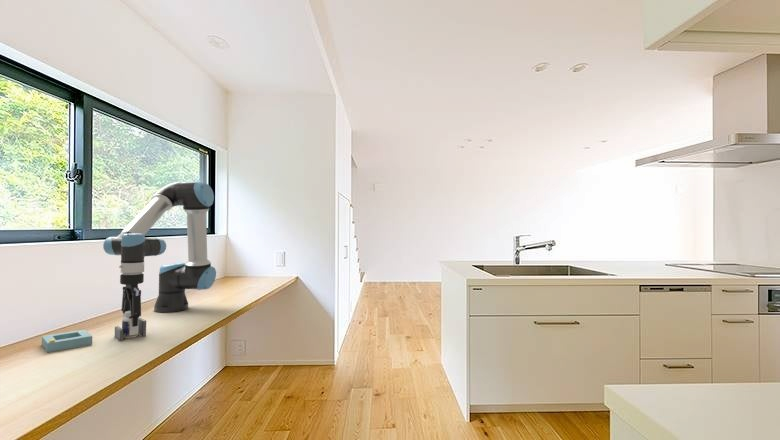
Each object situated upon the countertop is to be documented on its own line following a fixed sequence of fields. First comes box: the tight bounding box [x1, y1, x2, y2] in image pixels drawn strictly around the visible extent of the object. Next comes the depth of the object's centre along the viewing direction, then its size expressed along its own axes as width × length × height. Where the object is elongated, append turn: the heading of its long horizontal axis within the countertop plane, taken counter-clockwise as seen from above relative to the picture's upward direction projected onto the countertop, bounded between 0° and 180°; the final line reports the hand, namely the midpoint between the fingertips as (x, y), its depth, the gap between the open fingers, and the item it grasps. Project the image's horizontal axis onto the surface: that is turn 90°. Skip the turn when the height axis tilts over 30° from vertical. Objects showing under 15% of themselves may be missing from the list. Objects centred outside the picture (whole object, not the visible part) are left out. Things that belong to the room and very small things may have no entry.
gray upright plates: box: [114, 317, 147, 342], centre depth 145 cm, size 8×7×6 cm
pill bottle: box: [121, 311, 139, 339], centre depth 145 cm, size 5×5×10 cm
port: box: [41, 329, 93, 353], centre depth 134 cm, size 12×12×4 cm
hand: (130, 332), depth 145 cm, fingers open, 8 cm apart
